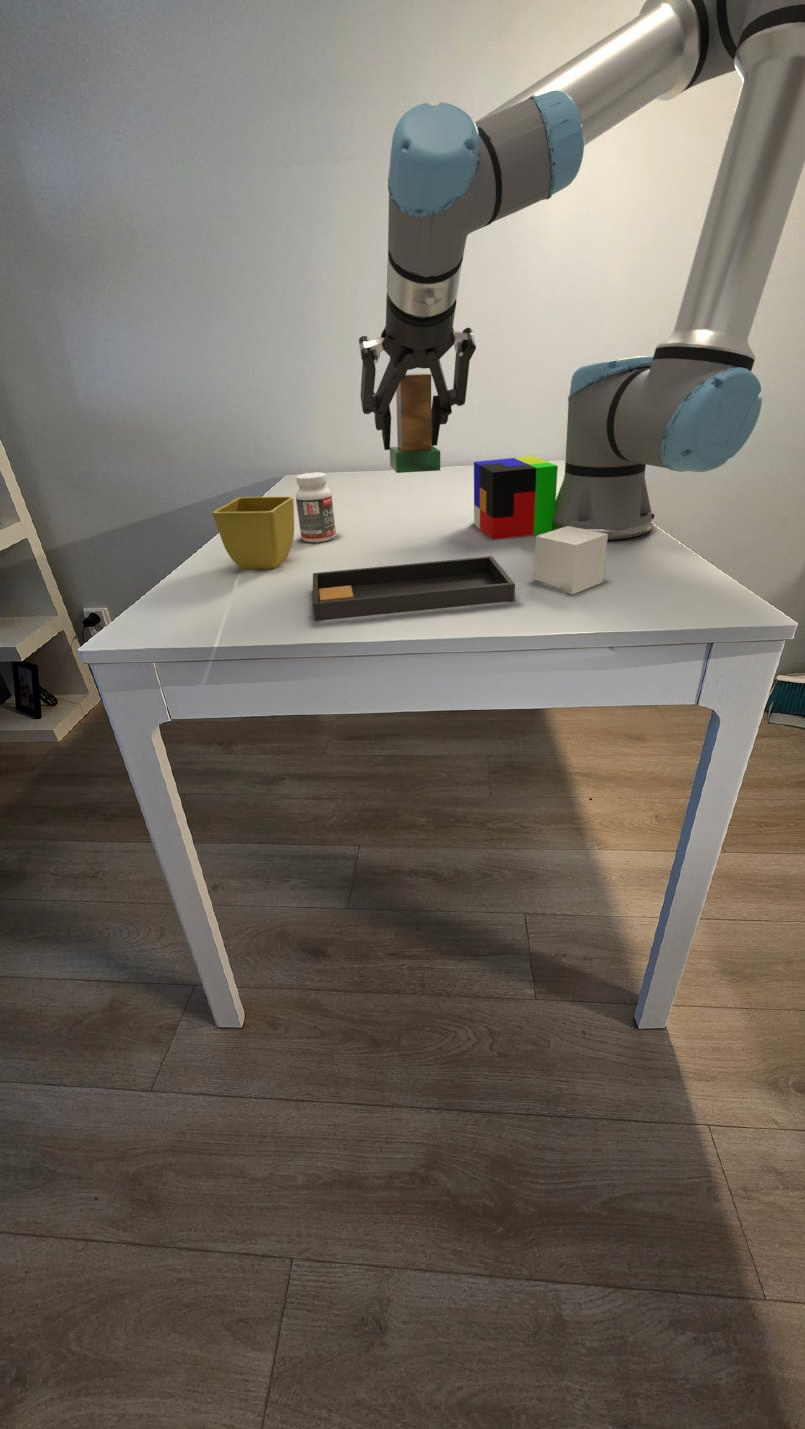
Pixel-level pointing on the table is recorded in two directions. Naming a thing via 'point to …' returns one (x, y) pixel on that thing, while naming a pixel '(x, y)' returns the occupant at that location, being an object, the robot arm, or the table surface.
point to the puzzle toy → (514, 496)
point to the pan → (413, 587)
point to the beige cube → (570, 558)
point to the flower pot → (257, 530)
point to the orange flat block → (335, 593)
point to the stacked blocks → (414, 427)
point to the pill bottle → (315, 508)
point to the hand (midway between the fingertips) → (409, 439)
